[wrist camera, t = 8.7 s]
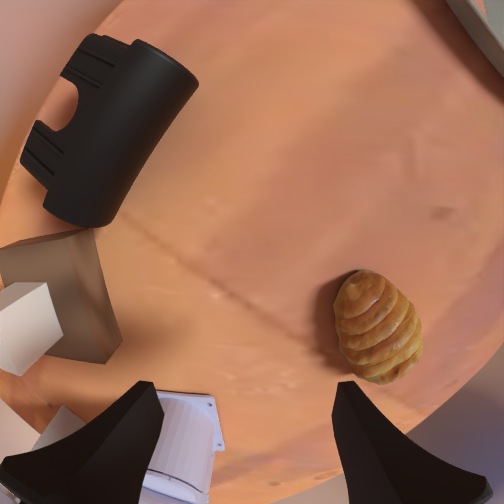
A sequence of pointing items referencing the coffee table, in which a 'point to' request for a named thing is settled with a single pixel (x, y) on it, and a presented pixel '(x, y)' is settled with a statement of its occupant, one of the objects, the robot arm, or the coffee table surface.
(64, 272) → the walnut base
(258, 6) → the coffee table surface
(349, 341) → the pastry
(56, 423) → the three tier block tower
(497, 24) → the cake pan
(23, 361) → the white block
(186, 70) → the end cap
